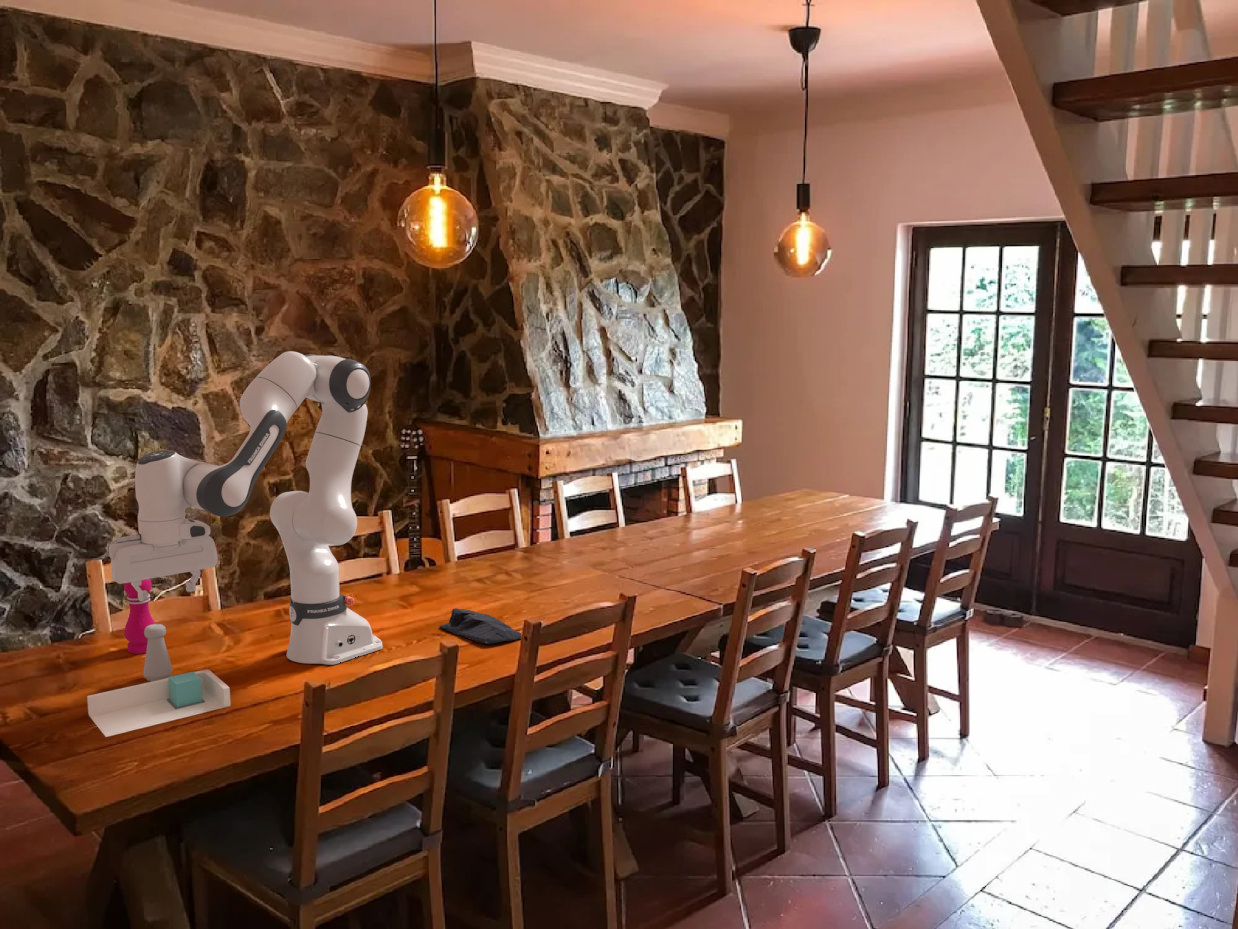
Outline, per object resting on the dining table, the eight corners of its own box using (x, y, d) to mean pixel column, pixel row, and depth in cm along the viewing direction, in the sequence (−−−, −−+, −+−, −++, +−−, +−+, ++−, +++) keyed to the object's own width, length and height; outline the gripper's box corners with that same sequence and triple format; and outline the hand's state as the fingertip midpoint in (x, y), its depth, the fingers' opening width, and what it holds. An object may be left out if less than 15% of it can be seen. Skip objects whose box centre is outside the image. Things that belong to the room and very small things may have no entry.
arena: (209, 690, 223) (207, 669, 222) (230, 710, 213) (229, 687, 212) (88, 719, 207) (87, 696, 207) (106, 741, 198) (104, 717, 197)
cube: (194, 693, 218) (192, 671, 217) (202, 701, 214) (200, 678, 214) (169, 699, 215) (168, 677, 214) (177, 707, 211) (176, 684, 210)
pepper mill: (164, 648, 247) (159, 568, 244) (136, 657, 241) (130, 575, 238) (147, 642, 251) (142, 563, 248) (119, 650, 245) (113, 570, 242)
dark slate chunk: (480, 652, 250) (480, 634, 249) (435, 628, 267) (435, 610, 266) (531, 639, 260) (531, 621, 259) (485, 617, 277) (485, 600, 276)
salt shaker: (176, 676, 230) (173, 621, 228) (166, 686, 225) (163, 630, 222) (150, 676, 230) (146, 621, 228) (139, 686, 224) (135, 630, 222)
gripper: (112, 542, 199) (118, 609, 202) (218, 526, 212) (222, 589, 215) (103, 535, 204) (109, 602, 207) (207, 520, 217) (211, 582, 220)
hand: (167, 595), depth 211 cm, fingers open, 8 cm apart
